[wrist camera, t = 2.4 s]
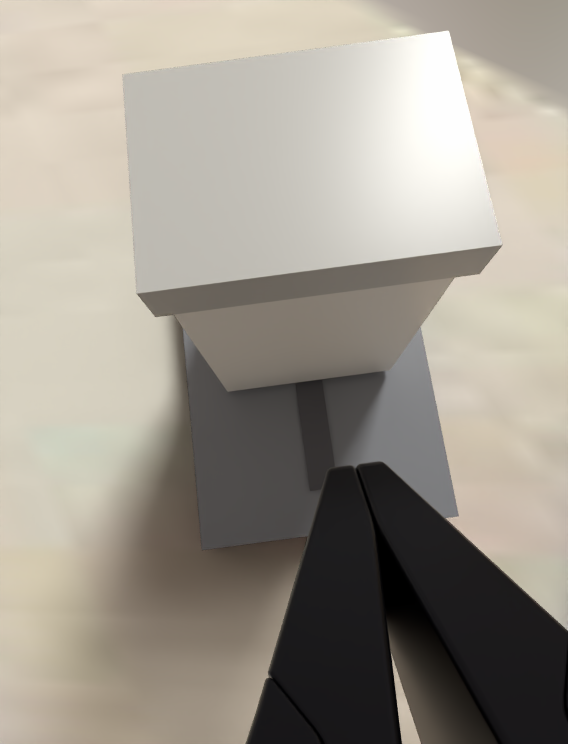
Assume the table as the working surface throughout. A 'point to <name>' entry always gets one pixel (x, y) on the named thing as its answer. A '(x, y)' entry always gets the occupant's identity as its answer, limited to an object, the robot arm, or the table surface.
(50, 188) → the table surface
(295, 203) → the fader knob
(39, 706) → the table surface
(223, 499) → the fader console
